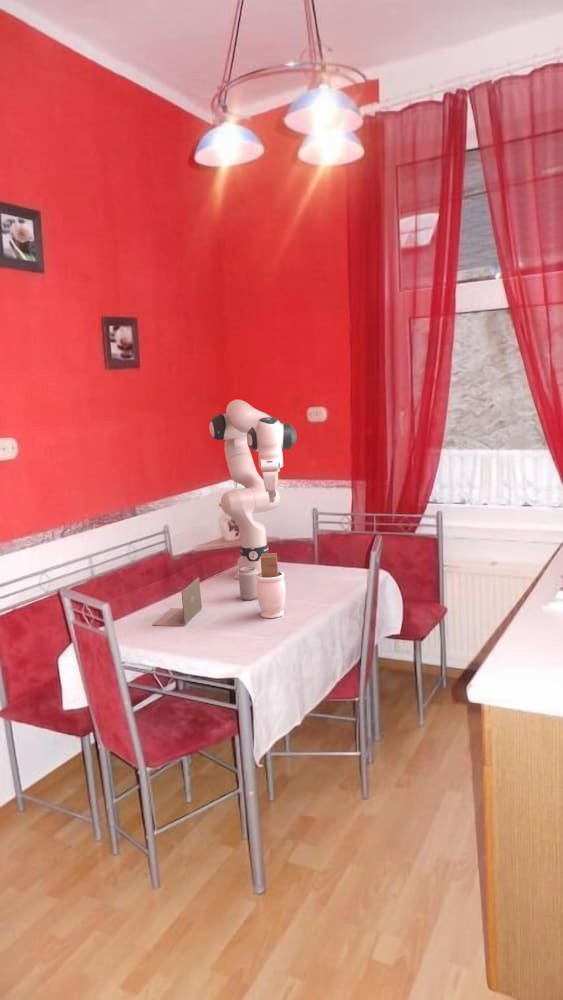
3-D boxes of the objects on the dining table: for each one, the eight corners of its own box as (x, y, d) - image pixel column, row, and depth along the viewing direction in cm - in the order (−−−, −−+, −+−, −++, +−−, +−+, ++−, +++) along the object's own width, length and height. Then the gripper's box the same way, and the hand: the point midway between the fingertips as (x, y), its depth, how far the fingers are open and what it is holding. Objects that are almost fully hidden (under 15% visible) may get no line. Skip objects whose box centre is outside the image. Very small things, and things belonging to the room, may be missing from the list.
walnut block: (262, 572, 257) (261, 553, 256) (278, 571, 257) (276, 553, 256) (261, 576, 252) (260, 557, 251) (277, 576, 251) (276, 556, 250)
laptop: (171, 610, 270) (167, 576, 268) (202, 610, 268) (199, 576, 265) (152, 626, 253) (148, 591, 251) (185, 627, 250) (182, 591, 248)
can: (257, 601, 274) (255, 570, 272) (238, 601, 275) (236, 571, 273) (261, 595, 281) (259, 565, 279) (243, 595, 282) (241, 565, 280)
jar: (284, 619, 251) (281, 578, 248) (255, 619, 253) (252, 578, 250) (289, 609, 261) (286, 570, 258) (261, 610, 263) (258, 570, 260)
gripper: (264, 458, 272) (266, 494, 274) (260, 467, 252) (262, 505, 254) (280, 458, 271) (282, 493, 274) (278, 466, 251) (280, 504, 254)
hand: (272, 499), depth 264 cm, fingers open, 8 cm apart
